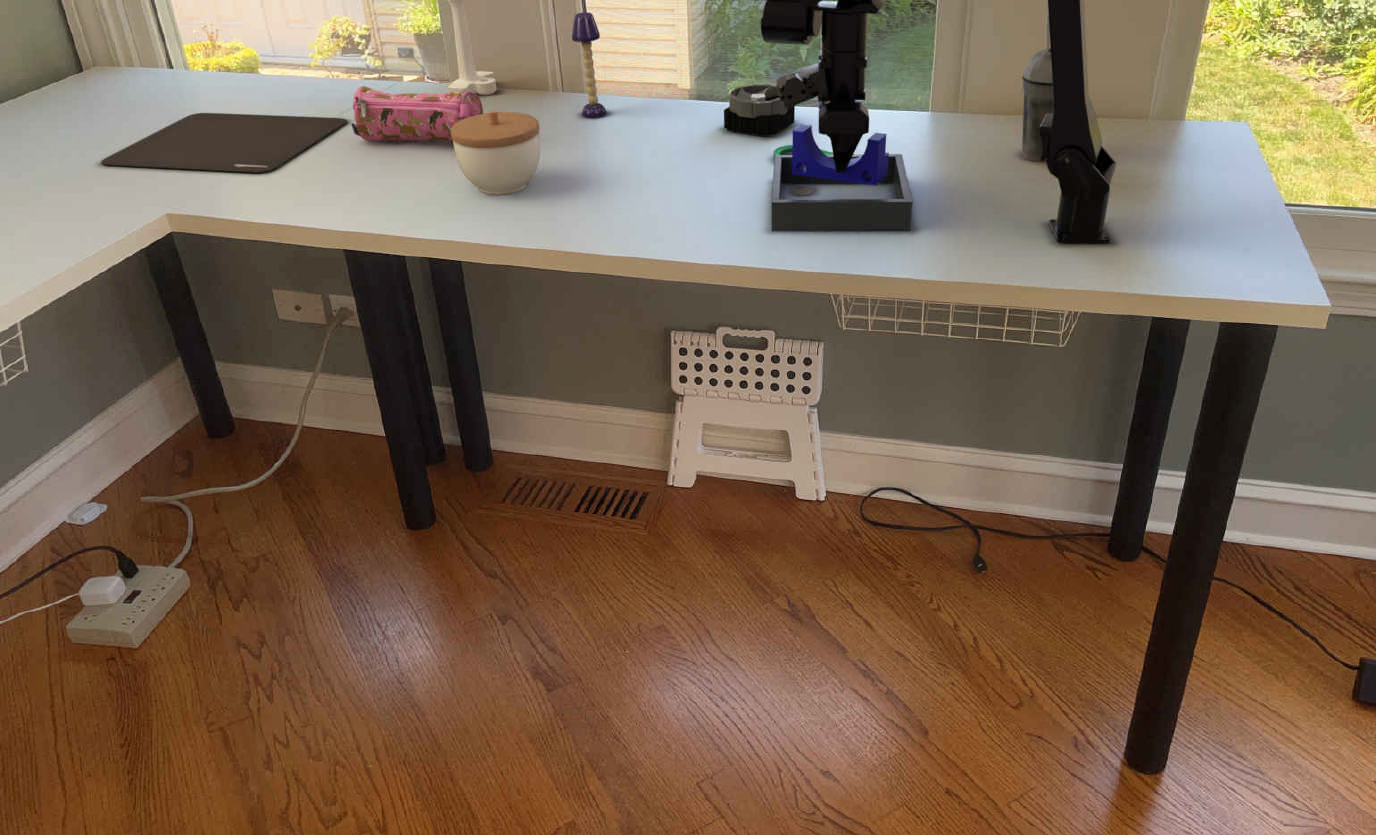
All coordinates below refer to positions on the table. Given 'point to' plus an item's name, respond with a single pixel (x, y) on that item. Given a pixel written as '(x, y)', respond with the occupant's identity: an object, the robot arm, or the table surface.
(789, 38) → the robot arm
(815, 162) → the blue u-shaped bracket
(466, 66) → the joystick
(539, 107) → the table surface
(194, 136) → the mouse pad
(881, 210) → the dark grey square tray
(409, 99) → the pencil case
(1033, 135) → the beverage cup
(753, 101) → the cpu cooler
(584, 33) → the toy lamp
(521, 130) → the lidded bowl
